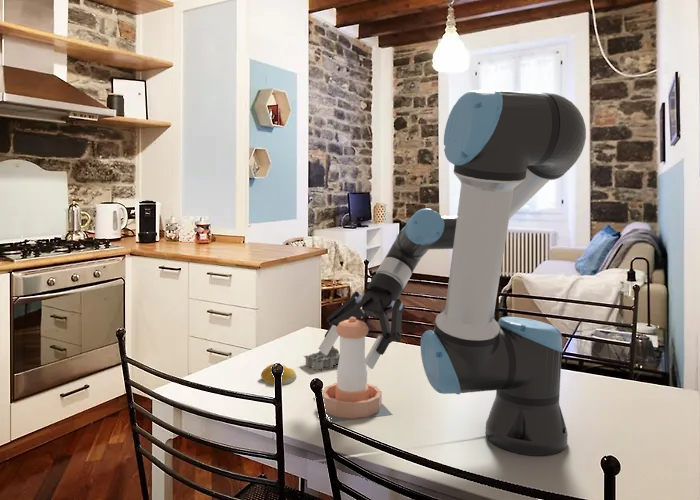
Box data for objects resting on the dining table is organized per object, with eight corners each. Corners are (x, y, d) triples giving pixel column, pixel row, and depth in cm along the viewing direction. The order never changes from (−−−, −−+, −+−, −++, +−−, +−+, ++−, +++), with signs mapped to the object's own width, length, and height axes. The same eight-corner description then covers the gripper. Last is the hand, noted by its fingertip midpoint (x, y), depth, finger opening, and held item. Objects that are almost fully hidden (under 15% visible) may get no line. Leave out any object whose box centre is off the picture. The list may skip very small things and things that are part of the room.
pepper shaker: (330, 405, 120) (330, 319, 118) (342, 394, 126) (342, 312, 124) (362, 410, 117) (363, 322, 115) (372, 398, 124) (373, 315, 122)
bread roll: (276, 389, 133) (276, 373, 133) (256, 380, 140) (256, 364, 140) (303, 382, 139) (303, 366, 138) (283, 373, 146) (283, 358, 145)
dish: (389, 413, 118) (389, 399, 117) (331, 420, 114) (331, 406, 113) (369, 392, 130) (369, 379, 129) (316, 398, 126) (316, 385, 126)
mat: (392, 416, 117) (392, 414, 117) (329, 424, 113) (329, 422, 113) (370, 393, 131) (370, 391, 130) (313, 399, 126) (313, 398, 126)
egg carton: (334, 358, 159) (334, 344, 158) (348, 365, 152) (348, 351, 152) (301, 364, 153) (301, 350, 152) (315, 372, 147) (315, 357, 146)
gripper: (440, 298, 122) (397, 381, 113) (356, 285, 139) (313, 356, 130) (427, 277, 118) (381, 361, 108) (342, 266, 135) (296, 338, 125)
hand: (344, 358), depth 119 cm, fingers open, 13 cm apart
